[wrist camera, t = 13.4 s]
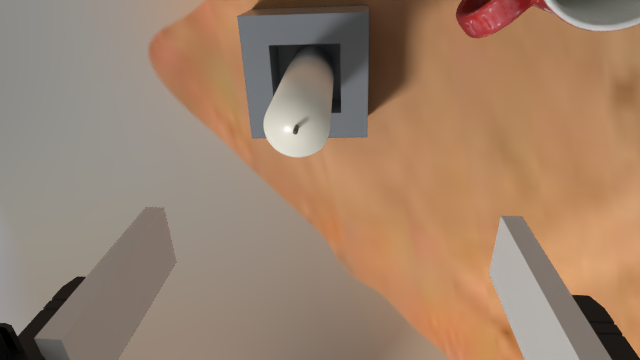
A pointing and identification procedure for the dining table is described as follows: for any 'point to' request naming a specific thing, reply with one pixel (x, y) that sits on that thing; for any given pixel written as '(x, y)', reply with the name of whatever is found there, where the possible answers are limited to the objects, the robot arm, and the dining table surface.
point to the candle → (302, 104)
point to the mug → (566, 3)
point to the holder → (296, 33)
